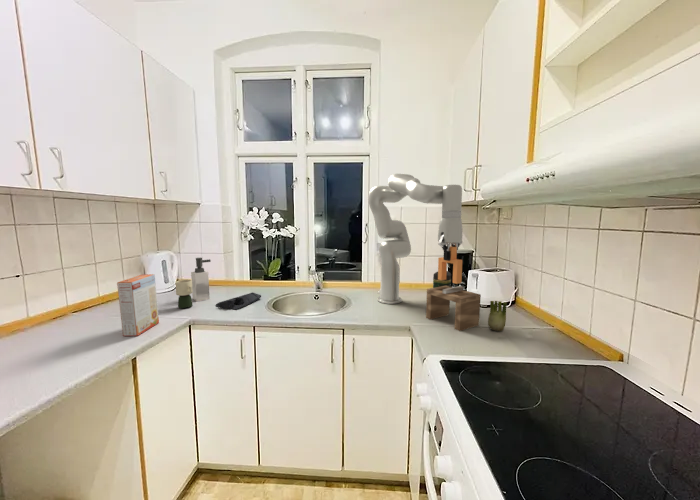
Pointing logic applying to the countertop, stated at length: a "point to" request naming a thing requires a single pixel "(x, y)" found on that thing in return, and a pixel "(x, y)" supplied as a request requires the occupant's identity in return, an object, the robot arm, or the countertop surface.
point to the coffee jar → (442, 282)
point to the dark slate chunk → (239, 301)
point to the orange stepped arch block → (456, 267)
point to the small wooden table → (464, 310)
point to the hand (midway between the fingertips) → (450, 259)
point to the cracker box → (138, 304)
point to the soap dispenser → (200, 282)
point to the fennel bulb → (497, 316)
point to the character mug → (184, 293)
